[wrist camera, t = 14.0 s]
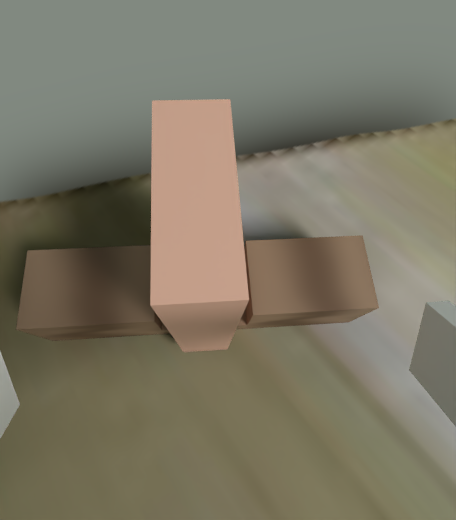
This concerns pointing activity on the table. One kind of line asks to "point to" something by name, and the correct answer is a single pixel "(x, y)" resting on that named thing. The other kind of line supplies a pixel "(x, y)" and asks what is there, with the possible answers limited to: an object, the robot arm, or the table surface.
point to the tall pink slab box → (196, 224)
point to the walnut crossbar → (139, 284)
